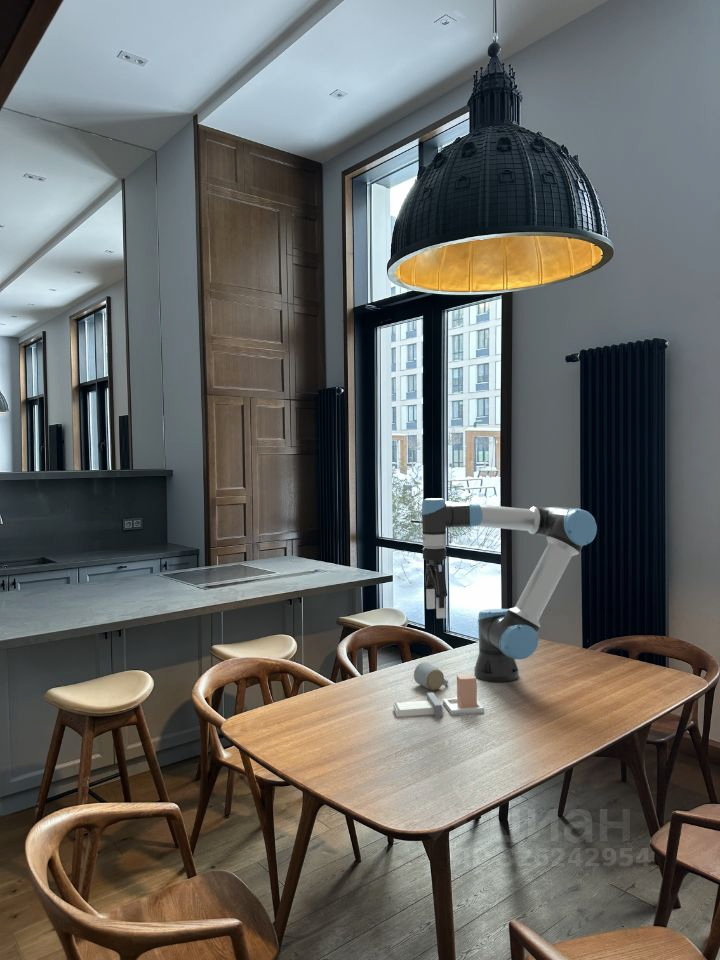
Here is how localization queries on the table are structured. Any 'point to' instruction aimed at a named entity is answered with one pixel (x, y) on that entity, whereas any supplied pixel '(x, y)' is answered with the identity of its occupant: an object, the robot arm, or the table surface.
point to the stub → (466, 691)
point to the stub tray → (456, 710)
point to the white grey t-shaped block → (420, 707)
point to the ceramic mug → (429, 676)
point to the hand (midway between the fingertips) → (435, 613)
